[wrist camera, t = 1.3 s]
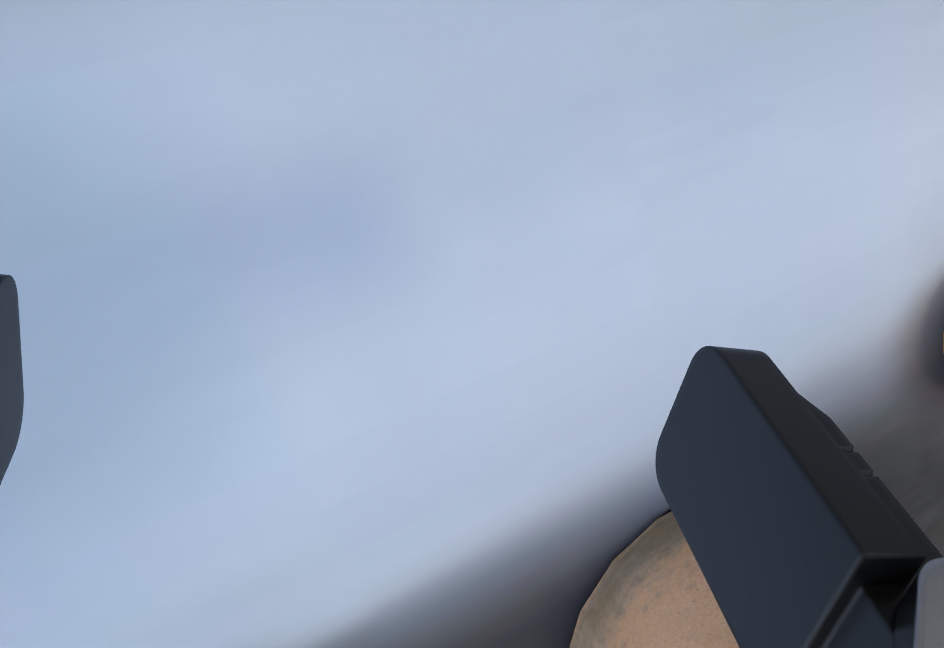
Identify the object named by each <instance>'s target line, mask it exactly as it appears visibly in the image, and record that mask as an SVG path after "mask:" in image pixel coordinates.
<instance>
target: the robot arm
mask: <svg viewBox="0 0 944 648" xmlns="http://www.w3.org/2000/svg"><path fill="white" fill-rule="evenodd" d="M23 404H24V391H23V374H22V358H21V342H20V325H19V309H18V295H17V288H16V284H15V281H14V279H13V278H12V276H10V275H3V274H0V484H1V482H2V480H3V477H4V475H5V473H6V470H7V468H8V466H9V463H10V461H11V458H12V456H13V454H14V451H15V449H16V445H17V442H18V438H19V434H20V429H21V423H22V416H23ZM872 472H873V470H872V469H871V468H870V466H869V465H868V464H867V463H866V461H865V460H864V459H863V458H862V457H861V455H860V454H859V453H856V452H853V445H852V444H851V443H850V442H849V440H848V439H847V438H846V437H845V436H844V434H843V433H842V432H841V431H840V429H839V428H838V427H837V426H836V424H835V423H834V422H833V421H832V420H831V418H830V417H828V416H827V415H826V414H824V413H823V412H822V411H820V410H819V409H818V408H816V407H815V406H814V405H813V404H811V403H810V402H809V401H807V400H806V399H805V398H803V397H802V396H801V395H799V394H798V393H797V392H796V390H795V389H794V388H793V387H792V385H791V384H790V383H789V382H788V380H787V379H786V378H785V376H784V375H783V374H782V373H781V371H780V370H779V369H778V368H777V366H776V365H775V364H774V363H773V361H772V360H771V359H770V358H769V357H768V356H767V355H766V354H765V353H763V352H761V351H755V350H745V349H735V348H725V347H715V346H705V347H703V348H701V349H700V350H699V351H698V352H697V353H696V354H695V355H694V357H693V359H692V361H691V363H690V365H689V368H688V370H687V373H686V375H685V377H684V380H683V382H682V385H681V387H680V390H679V392H678V394H677V397H676V399H675V402H674V404H673V407H672V409H671V411H670V414H669V416H668V419H667V421H666V423H665V426H664V428H663V431H662V433H661V436H660V438H659V441H658V445H657V451H656V474H657V479H658V483H659V486H660V488H661V490H662V492H663V494H664V496H665V498H666V500H667V502H668V504H669V506H670V508H671V511H672V513H673V515H674V517H675V519H676V521H677V523H678V525H679V527H680V529H681V531H682V533H683V535H684V537H685V539H686V541H687V543H688V545H689V547H690V549H691V551H692V553H693V555H694V557H695V559H696V561H697V563H698V565H699V567H700V569H701V571H702V573H703V575H704V577H705V579H706V581H707V583H708V585H709V587H710V589H711V591H712V593H713V595H714V597H715V599H716V601H717V603H718V605H719V607H720V609H721V611H722V613H723V615H724V617H725V619H726V621H727V623H728V625H729V627H730V630H731V632H732V634H733V636H734V638H735V640H736V642H737V644H738V646H739V648H944V557H943V556H942V555H941V554H940V553H939V551H938V550H937V549H936V548H935V546H934V545H933V544H932V543H931V541H930V540H929V539H928V538H927V537H926V535H925V534H924V533H923V532H922V530H921V529H920V528H919V527H918V525H917V524H916V523H915V522H914V521H913V519H912V518H911V517H910V516H909V514H908V513H907V512H906V511H905V509H904V508H903V507H902V506H901V505H900V503H899V502H898V501H897V500H896V498H895V497H894V496H893V495H892V493H891V492H890V491H889V490H888V489H887V487H886V486H885V485H884V484H883V482H882V481H881V480H880V479H879V477H873V475H872Z"/></svg>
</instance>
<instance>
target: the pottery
mask: <svg viewBox="0 0 944 648" xmlns="http://www.w3.org/2000/svg"><path fill="white" fill-rule="evenodd" d="M569 648H739V646H738V644H737V642H736V640H735V638H734V636H733V634H732V632H731V630H730V627H729V625H728V623H727V621H726V619H725V617H724V615H723V613H722V611H721V609H720V607H719V605H718V603H717V601H716V599H715V597H714V595H713V593H712V591H711V589H710V587H709V585H708V583H707V581H706V579H705V577H704V575H703V573H702V571H701V569H700V567H699V565H698V563H697V561H696V559H695V557H694V555H693V553H692V551H691V549H690V547H689V545H688V543H687V541H686V539H685V537H684V535H683V533H682V531H681V529H680V527H679V525H678V523H677V521H676V519H675V517H674V515H673V513H672V511H671V512H669V513H667V514H665V515H664V516H662V517H660V518H658V519H657V520H655V521H654V522H653V523H652V524H651V525H650V526H649V527H648V528H647V529H646V530H645V531H644V532H643V533H642V534H641V535H639V536H638V537H637V538H636V539H635V540H634V541H633V542H632V543H631V544H630V545H629V546H628V547H627V548H626V549H624V550H623V551H622V552H621V553H620V554H619V555H618V556H617V557H616V558H615V559H614V560H613V561H612V563H611V564H610V566H609V567H608V569H607V570H606V572H605V574H604V575H603V577H602V578H601V580H600V581H599V583H598V584H597V586H596V588H595V589H594V591H593V592H592V594H591V595H590V597H589V598H588V600H587V601H586V603H585V605H584V606H583V608H582V609H581V611H580V614H579V617H578V620H577V624H576V627H575V630H574V634H573V637H572V640H571V644H570V647H569Z"/></svg>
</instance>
